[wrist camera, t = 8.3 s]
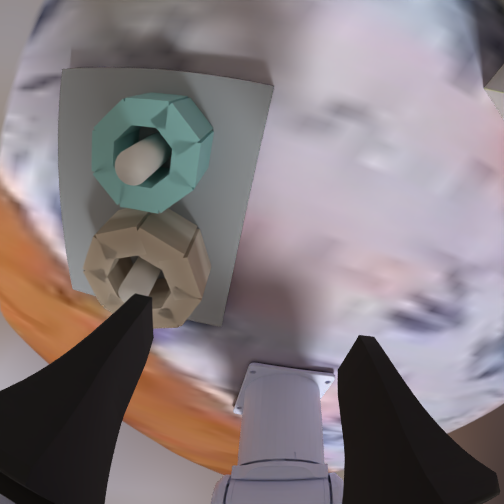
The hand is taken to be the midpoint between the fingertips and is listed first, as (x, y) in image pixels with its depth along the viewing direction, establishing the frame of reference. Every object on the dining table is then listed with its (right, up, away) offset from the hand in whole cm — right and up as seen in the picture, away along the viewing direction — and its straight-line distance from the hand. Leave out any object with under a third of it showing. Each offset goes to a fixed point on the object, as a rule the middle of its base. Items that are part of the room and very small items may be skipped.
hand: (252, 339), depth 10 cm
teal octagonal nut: (-5, +9, +5) cm, 11 cm away
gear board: (-6, +6, +8) cm, 12 cm away
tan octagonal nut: (-6, +3, +9) cm, 11 cm away
